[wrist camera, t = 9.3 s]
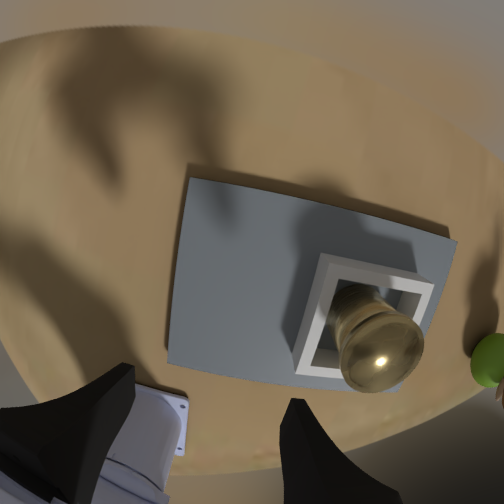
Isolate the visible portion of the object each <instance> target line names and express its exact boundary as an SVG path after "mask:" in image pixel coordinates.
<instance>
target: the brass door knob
mask: <svg viewBox="0 0 504 504" xmlns="http://www.w3.org/2000/svg"><path fill="white" fill-rule="evenodd" d="M326 324H327V327H328V329H329V331H330V334H331V336H332V338H333V341H334V343H335V345H336V347H337V350H338V352H339V358H338V362H339V367H340V370H341V373H342V375H343V378H344V380H345V382H346V383H347V384H348V385H349V386H350V387H351V388H352V389H354V390H356V391H359V392H363V393H376V392H381V391H385V390H387V389H390V388H392V387H394V386H396V385H397V384H399V383H400V382H402V381H403V380H404V379H405V378H407V377H408V376H409V375H410V374H411V372H412V371H413V370H414V369H415V367H416V366H417V364H418V362H419V361H420V358H421V356H422V353H423V349H424V336H423V333H422V330H421V329H420V327H419V326H418V325H417V324H416V323H415V322H414V321H413V320H412V319H411V318H410V317H409V316H408V315H406V314H404V313H402V312H398V311H396V310H395V309H394V308H393V307H392V306H391V305H390V304H389V303H388V302H387V301H386V300H385V299H384V298H383V297H382V296H381V295H380V294H379V293H378V292H377V291H376V290H375V289H374V288H373V287H371V286H369V285H366V284H352V285H349V286H346V287H344V288H343V289H341V290H340V291H338V292H337V293H336V294H335V295H334V296H333V299H332V302H331V306H330V309H329V312H328V315H327V318H326Z"/></svg>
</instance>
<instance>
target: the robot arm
mask: <svg viewBox="0 0 504 504" xmlns="http://www.w3.org/2000/svg"><path fill="white" fill-rule="evenodd" d="M183 405H185V406H183ZM188 410H189V399H188V398H186V397H183V396H179V395H175V394H171V393H168V392H164V391H160V390H157V389H153V388H150V387H146V386H143V385H139V384H136V383H135V366H133V365H130V364H127V363H124V362H122V363H120V364H119V365H117V366H116V367H114V368H113V369H111V370H110V371H108V372H107V373H105V374H104V375H102V376H101V377H99V378H97V379H96V380H94V381H93V382H91V383H89V384H87V385H86V386H84V387H82V388H80V389H78V390H76V391H74V392H72V393H70V394H68V395H65V396H62V397H60V398H57V399H54V400H50V401H47V402H44V403H40V404H35V405H30V406H24V407H11V408H1V409H0V504H168V502H169V498H170V496H168V495H166V494H164V493H163V492H164V489H165V485H166V482H167V478H168V475H169V471H170V468H171V464H172V461H173V457H174V455H178V456H183V455H184V453H185V441H186V430H187V420H188ZM279 445H280V455H281V463H282V472H283V480H284V504H403V503H402V500H401V498H400V495H399V493H398V492H397V491H396V490H394V489H392V488H390V487H388V486H386V485H384V484H382V483H380V482H379V481H377V480H375V479H374V478H372V477H371V476H369V475H368V474H366V473H365V472H364V471H362V470H361V469H360V468H359V467H357V466H356V465H355V464H354V463H353V462H352V461H350V460H349V459H348V458H347V457H346V456H345V455H344V454H343V453H342V452H341V451H340V450H339V448H338V447H337V446H336V445H335V444H334V442H333V441H332V440H331V439H330V437H329V436H328V435H327V433H326V432H325V431H324V429H323V428H322V426H321V425H320V423H319V422H318V420H317V419H316V417H315V416H314V414H313V413H312V411H311V409H310V408H309V406H308V404H307V403H306V401H305V400H304V399H297V398H291V400H290V403H289V405H288V408H287V410H286V413H285V415H284V418H283V420H282V423H281V425H280V442H279Z"/></svg>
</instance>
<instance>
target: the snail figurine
mask: <svg viewBox="0 0 504 504" xmlns="http://www.w3.org/2000/svg"><path fill="white" fill-rule="evenodd" d="M470 367H471V373H472V376H473V378H474V379H475V381H476V382H477V383H478V384H480V385H482V386H484V387H496V386H498V388H497V391H496V401H498V400H499V399H500V398H501V397H502V405H503V408H504V334H501V333H494V334H490V335H488V336H486V337H485V338H483V339H482V340H481V341H480V342H479V343H478V344H477V346H476V347H475V349H474V351H473V354H472V357H471V363H470Z"/></svg>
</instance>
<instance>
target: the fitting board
mask: <svg viewBox="0 0 504 504" xmlns="http://www.w3.org/2000/svg"><path fill="white" fill-rule="evenodd" d="M456 246H457V241H455V240H452V239H449V238H446V237H443V236H440V235H436V234H433V233H430V232H427V231H424V230H420V229H417V228H414V227H410V226H407V225H403V224H400V223H396V222H393V221H389V220H386V219H382V218H378V217H375V216H371V215H367V214H364V213H360V212H356V211H352V210H348V209H344V208H340V207H336V206H332V205H328V204H324V203H319V202H315V201H311V200H306V199H302V198H298V197H293V196H288V195H284V194H279V193H274V192H270V191H265V190H260V189H255V188H250V187H244V186H239V185H234V184H228V183H223V182H217V181H211V180H206V179H200V178H194V177H190V180H189V185H188V191H187V197H186V203H185V209H184V215H183V221H182V228H181V235H180V242H179V249H178V256H177V264H176V272H175V281H174V290H173V299H172V309H171V320H170V331H169V344H168V359H167V363H169V364H173V365H177V366H181V367H186V368H190V369H194V370H199V371H203V372H208V373H213V374H218V375H223V376H228V377H233V378H239V379H245V380H251V381H257V382H264V383H270V384H278V385H286V386H294V387H303V388H313V389H325V390H339V391H356V390H354V389H352V388H351V387H350V386H349V385H348V384H347V383H346V382H345V380H344V378H343V375H342V373H341V370H340V367H339V362H338V358H339V352H338V350H337V347H336V345H335V343H334V341H333V338H332V336H331V334H330V331H329V329H328V327H327V324H326V318H327V315H328V312H329V309H330V306H331V302H332V299H333V296H334V295H335V294H336V293H337V292H338V291H340V290H341V289H343V288H344V287H346V286H349V285H352V284H366V285H369V286H371V287H373V288H374V289H375V290H376V291H377V292H378V293H379V294H380V295H381V296H382V297H383V298H384V299H385V300H386V301H387V302H388V303H389V304H390V305H391V306H392V307H393V308H394V309H395V310H396V311H398V312H402V313H404V314H406V315H408V316H409V317H410V318H411V319H412V320H413V321H414V322H415V323H416V324H417V325H418V326H419V327H420V329H421V330H422V333H423V336H424V337H425V335H426V333H427V330H428V328H429V326H430V323H431V321H432V318H433V316H434V313H435V310H436V308H437V305H438V302H439V300H440V297H441V294H442V291H443V288H444V285H445V282H446V279H447V276H448V273H449V270H450V267H451V263H452V260H453V256H454V253H455V249H456ZM403 381H404V380H403ZM403 381H402V382H400V383H399V384H397V385H396V386H394V387H392V388H390V389H387V390H385V391H381V392H398V390H399V388H400V386H401V385H402V383H403ZM357 392H359V391H357Z"/></svg>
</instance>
